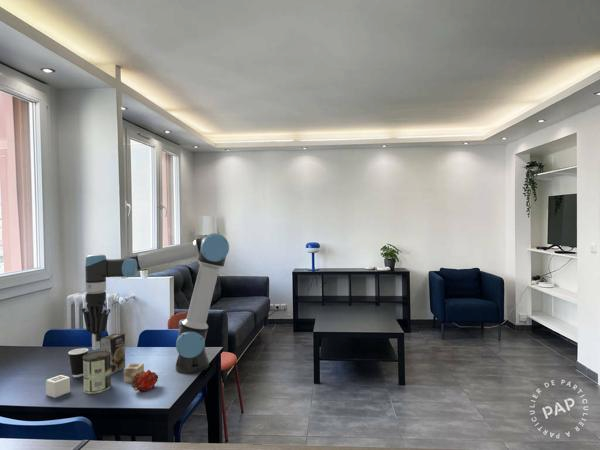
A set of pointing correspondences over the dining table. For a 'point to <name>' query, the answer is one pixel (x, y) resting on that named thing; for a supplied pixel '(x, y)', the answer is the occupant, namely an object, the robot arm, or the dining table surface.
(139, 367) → the birch block
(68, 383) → the off-white block
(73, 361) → the dixie cup
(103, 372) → the coffee can
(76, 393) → the dining table surface
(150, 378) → the dragon fruit
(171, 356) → the dining table surface
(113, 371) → the coffee box
